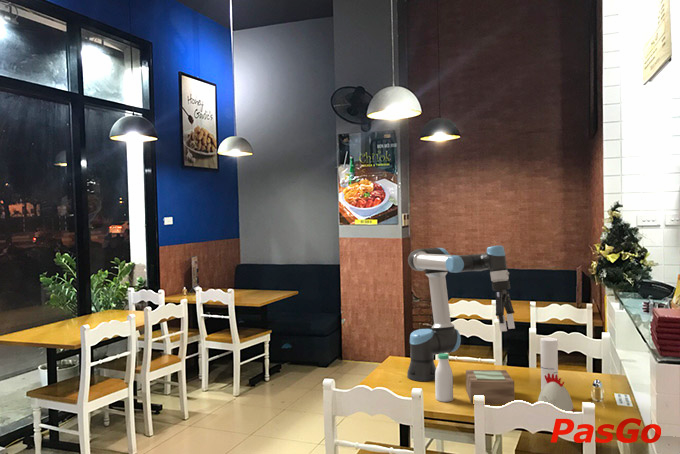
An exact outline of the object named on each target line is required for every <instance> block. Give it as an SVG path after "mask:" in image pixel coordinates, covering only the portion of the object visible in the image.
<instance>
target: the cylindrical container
mask: <svg viewBox="0 0 680 454" xmlns="http://www.w3.org/2000/svg"><path fill="white" fill-rule="evenodd" d="M539 339H540V340H539V341H540V343H539V344H540V347H539V348H540V349H539V350H540V391H541V390H542V389H543V387H544V386H545V385H546V384H547V381H546V379H545V375H546V376H547V378H548V373H549V374H550V377H552V374H554V379H555V375H557V377H558V378H559V366H558V365H559V364H558V363H559V359H558V357H559V356H558V355H559V354H558V351H559V349H558V339H557V338H554V337H549V336H548V337H547V336H546V337H541V338H539Z"/></svg>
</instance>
